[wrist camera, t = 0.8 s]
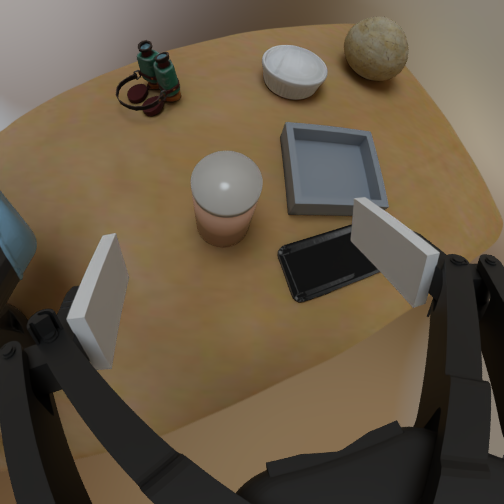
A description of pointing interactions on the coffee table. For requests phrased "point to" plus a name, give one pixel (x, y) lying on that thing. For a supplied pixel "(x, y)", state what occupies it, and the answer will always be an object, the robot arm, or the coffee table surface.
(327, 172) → the tray
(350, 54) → the fossilized egg
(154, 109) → the binoculars
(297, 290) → the phone
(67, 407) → the coffee table surface
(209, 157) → the beige round cylinder
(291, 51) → the ramekin
